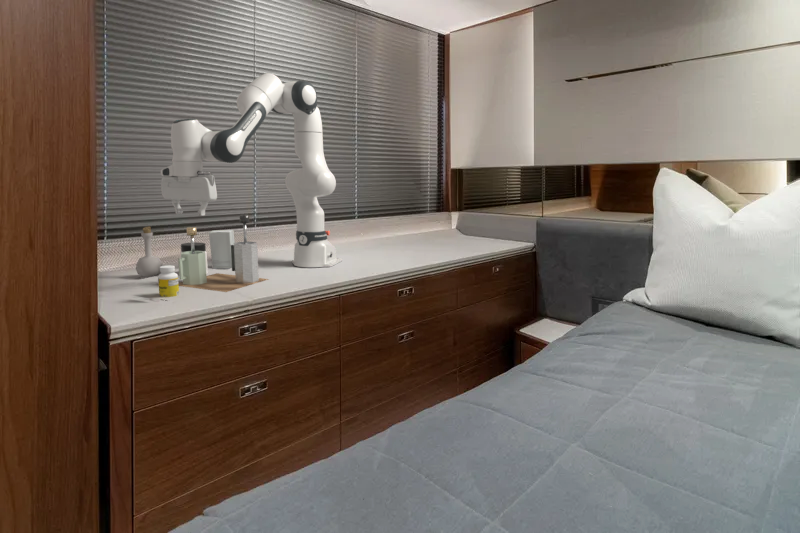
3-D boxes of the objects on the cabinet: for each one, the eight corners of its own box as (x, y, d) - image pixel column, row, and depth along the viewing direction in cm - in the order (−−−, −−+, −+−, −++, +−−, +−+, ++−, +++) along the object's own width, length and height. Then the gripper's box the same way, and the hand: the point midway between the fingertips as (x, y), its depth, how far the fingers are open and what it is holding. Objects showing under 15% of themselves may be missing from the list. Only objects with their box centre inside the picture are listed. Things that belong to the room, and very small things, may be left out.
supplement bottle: (156, 298, 147) (153, 266, 145) (173, 295, 151) (171, 264, 149) (165, 302, 143) (162, 268, 142) (183, 298, 148) (180, 266, 146)
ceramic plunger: (193, 256, 165) (191, 226, 163) (204, 257, 163) (202, 227, 162) (182, 258, 161) (180, 227, 159) (193, 260, 159) (191, 228, 157)
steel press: (240, 277, 172) (238, 240, 170) (262, 280, 168) (261, 242, 166) (225, 281, 166) (223, 243, 163) (248, 284, 162) (246, 245, 160)
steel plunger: (244, 247, 168) (243, 214, 166) (256, 248, 166) (254, 215, 164) (235, 249, 163) (233, 215, 161) (246, 250, 161) (245, 216, 159)
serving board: (217, 276, 179) (217, 273, 179) (269, 282, 171) (269, 279, 170) (170, 288, 160) (170, 284, 160) (226, 295, 151) (226, 291, 151)
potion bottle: (169, 275, 180) (165, 226, 177) (151, 280, 172) (147, 228, 168) (149, 273, 182) (145, 225, 179) (130, 278, 174) (126, 227, 171)
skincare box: (237, 266, 199) (235, 229, 196) (232, 269, 193) (230, 231, 190) (216, 266, 198) (214, 229, 196) (210, 269, 192) (208, 231, 190)
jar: (211, 274, 183) (209, 242, 180) (204, 279, 175) (202, 245, 172) (186, 274, 182) (183, 242, 179) (178, 279, 174) (176, 245, 171)
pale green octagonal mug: (195, 279, 168) (193, 250, 167) (211, 281, 166) (209, 251, 164) (172, 284, 160) (170, 254, 158) (189, 287, 157) (187, 256, 155)
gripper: (220, 171, 156) (222, 215, 158) (172, 170, 164) (174, 212, 166) (205, 171, 150) (208, 216, 153) (156, 170, 158) (159, 213, 160)
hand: (190, 214), depth 160 cm, fingers open, 8 cm apart
